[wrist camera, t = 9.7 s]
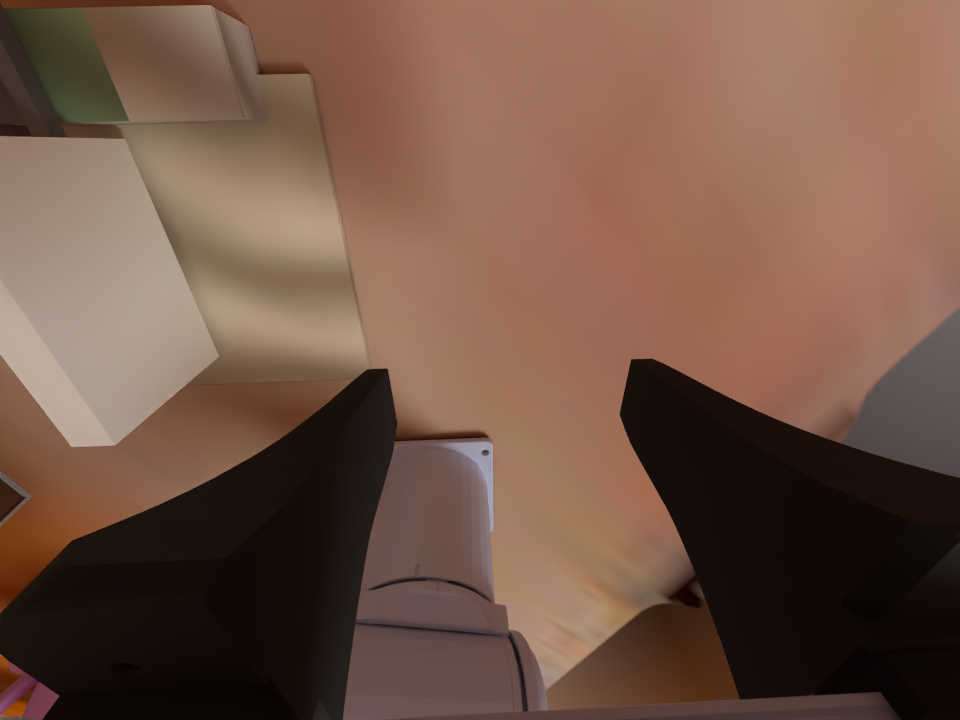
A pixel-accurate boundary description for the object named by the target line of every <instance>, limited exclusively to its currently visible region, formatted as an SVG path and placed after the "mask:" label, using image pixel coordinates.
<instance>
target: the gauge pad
mask: <svg viewBox="0 0 960 720" xmlns="http://www.w3.org/2000/svg"><path fill="white" fill-rule="evenodd" d="M0 77H1V79H2V81H3V83H4V85H5V86H6V88H7V90H8V92H9V94H10V96H11V98H12V99H13V101H14V103H15V105H16V107H17V109H18V111H19V112H20V114H21V116H22V118H23V120H24V122H25V124H26V125H27V127H28V129H29V131H30V133H31V135H32V137H16V136H0V355H1V356H2V358H3V359H4V360H5V362H6V363H7V364H8V365H9V367H10V368H11V369H12V371H13V372H14V373H15V374H16V376H17V377H18V378H19V380H20V381H21V382H22V384H23V385H24V386H25V387H26V389H27V390H28V391H29V393H30V394H31V395H32V396H33V398H34V399H35V400H36V402H37V403H38V404H39V405H40V407H41V408H42V409H43V411H44V412H45V413H46V415H47V416H48V417H49V418H50V420H51V421H52V422H53V424H54V425H55V426H56V427H57V429H58V430H59V431H60V433H61V434H62V435H63V437H64V438H65V439H66V440H67V442H68V443H69V444H70V446H71V447H87V446H111V445H116V444H117V443H118V442H120V441H121V440H122V439H123V438H124V437H125V436H127V435H128V434H129V433H130V432H131V431H132V430H134V429H135V428H136V427H137V426H138V425H140V424H141V423H142V422H143V421H144V420H145V419H147V418H148V417H149V416H150V415H151V414H152V413H154V412H155V411H156V410H157V409H158V408H159V407H161V406H162V405H163V404H164V403H165V402H166V401H168V400H169V399H170V398H171V397H172V396H173V395H175V394H176V393H177V392H178V391H179V390H181V389H182V388H183V387H184V386H185V385H186V384H188V383H189V382H190V381H191V380H192V379H193V378H195V377H196V376H197V375H198V374H199V373H200V372H202V371H203V370H204V369H205V368H206V367H207V366H209V365H210V364H211V363H212V362H213V361H215V360H216V359H217V358H218V357H219V355H218V352H217V350H216V348H215V345H214V343H213V341H212V339H211V336H210V334H209V332H208V329H207V327H206V325H205V322H204V320H203V318H202V315H201V313H200V311H199V309H198V306H197V304H196V302H195V299H194V297H193V295H192V292H191V290H190V288H189V286H188V283H187V281H186V279H185V276H184V274H183V272H182V269H181V267H180V265H179V262H178V260H177V258H176V256H175V253H174V251H173V249H172V246H171V244H170V242H169V239H168V237H167V235H166V232H165V230H164V228H163V226H162V223H161V221H160V219H159V216H158V214H157V212H156V209H155V207H154V205H153V202H152V200H151V198H150V196H149V193H148V191H147V189H146V186H145V184H144V182H143V179H142V177H141V175H140V173H139V170H138V168H137V166H136V163H135V161H134V159H133V156H132V154H131V152H130V149H129V147H128V145H127V143H126V140H125V139H104V138H68V137H67V135H66V133H65V131H64V129H63V127H62V125H61V123H60V121H59V119H58V117H57V115H56V113H55V111H54V109H53V107H52V105H51V103H50V101H49V99H48V97H47V95H46V93H45V91H44V89H43V87H42V85H41V83H40V81H39V79H38V77H37V75H36V73H35V71H34V69H33V67H32V65H31V63H30V61H29V59H28V57H27V55H26V53H25V51H24V49H23V47H22V45H21V43H20V41H19V39H18V37H17V35H16V33H15V31H14V29H13V27H12V25H11V23H10V21H9V19H8V17H7V15H6V13H5V11H4V9H3V7H2V5H1V3H0Z"/></svg>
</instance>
